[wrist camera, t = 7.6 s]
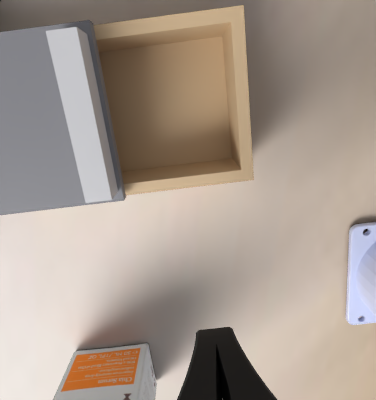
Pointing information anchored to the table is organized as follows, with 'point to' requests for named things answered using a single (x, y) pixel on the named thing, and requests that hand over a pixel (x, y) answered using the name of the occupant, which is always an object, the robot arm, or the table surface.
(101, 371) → the skincare box
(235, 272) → the table surface
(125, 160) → the box
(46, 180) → the lid
